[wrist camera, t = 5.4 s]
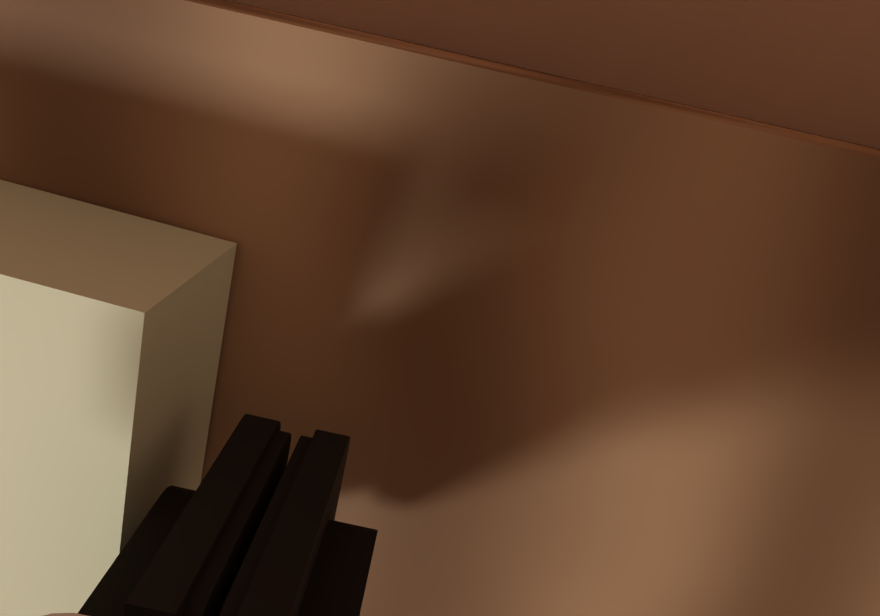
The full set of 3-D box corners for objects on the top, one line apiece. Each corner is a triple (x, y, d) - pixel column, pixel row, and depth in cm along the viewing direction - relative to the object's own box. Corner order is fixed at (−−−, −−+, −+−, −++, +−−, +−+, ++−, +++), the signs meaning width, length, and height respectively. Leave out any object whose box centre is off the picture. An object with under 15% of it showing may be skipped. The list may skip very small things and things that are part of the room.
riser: (979, 172, 14) (1159, 222, 10) (724, 688, 19) (783, 848, 15) (67, -36, 14) (-93, -63, 10) (57, 544, 19) (-51, 671, 15)
